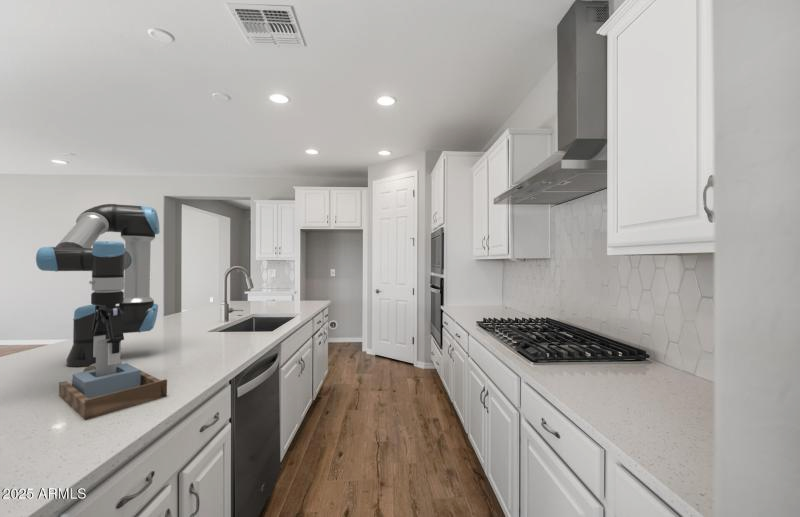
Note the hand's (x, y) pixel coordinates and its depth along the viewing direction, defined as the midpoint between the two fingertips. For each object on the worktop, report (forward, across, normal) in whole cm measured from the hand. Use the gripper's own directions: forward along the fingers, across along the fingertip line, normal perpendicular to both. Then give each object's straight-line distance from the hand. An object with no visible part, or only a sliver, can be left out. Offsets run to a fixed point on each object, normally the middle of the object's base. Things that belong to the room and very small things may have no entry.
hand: (106, 360), depth 101 cm
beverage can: (+6, 0, 0) cm, 6 cm away
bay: (+11, +6, 0) cm, 13 cm away
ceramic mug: (+11, -12, +3) cm, 17 cm away
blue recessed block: (+9, +1, 0) cm, 10 cm away
